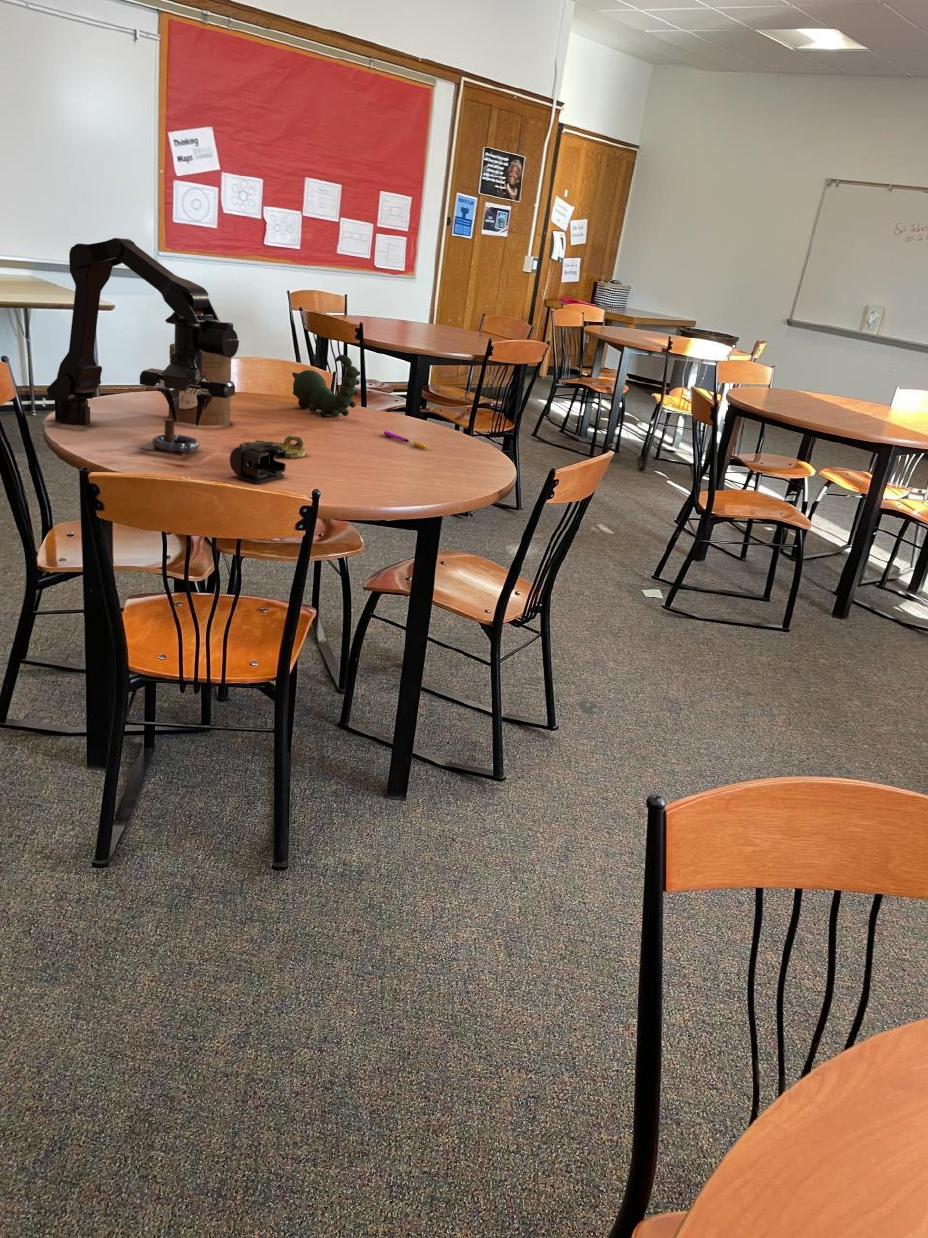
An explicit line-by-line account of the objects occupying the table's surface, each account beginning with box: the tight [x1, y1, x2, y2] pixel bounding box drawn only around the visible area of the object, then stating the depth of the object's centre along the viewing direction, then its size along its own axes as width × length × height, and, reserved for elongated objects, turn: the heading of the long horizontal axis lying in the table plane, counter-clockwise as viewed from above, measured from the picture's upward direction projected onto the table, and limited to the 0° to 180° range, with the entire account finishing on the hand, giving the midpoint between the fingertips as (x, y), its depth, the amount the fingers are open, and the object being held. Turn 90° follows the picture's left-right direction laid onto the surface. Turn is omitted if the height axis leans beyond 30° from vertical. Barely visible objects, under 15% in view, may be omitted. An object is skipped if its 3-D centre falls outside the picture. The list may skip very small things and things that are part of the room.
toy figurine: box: [291, 354, 361, 418], centre depth 254 cm, size 9×19×25 cm
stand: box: [140, 417, 189, 457], centre depth 194 cm, size 9×9×7 cm
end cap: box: [229, 441, 287, 485], centre depth 186 cm, size 10×7×7 cm
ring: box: [151, 434, 200, 454], centre depth 195 cm, size 10×10×2 cm
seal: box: [238, 435, 306, 459], centre depth 207 cm, size 9×5×15 cm
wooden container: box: [168, 342, 232, 427], centre depth 222 cm, size 15×15×22 cm
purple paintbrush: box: [383, 430, 429, 450], centre depth 239 cm, size 3×1×16 cm
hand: (186, 423), depth 193 cm, fingers open, 4 cm apart
